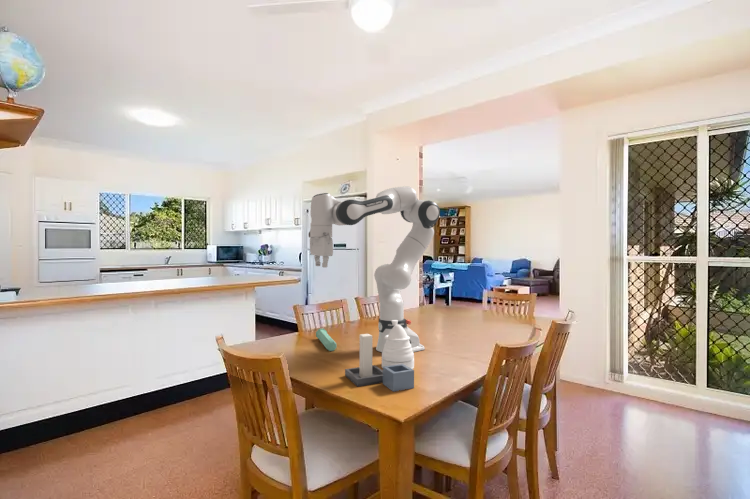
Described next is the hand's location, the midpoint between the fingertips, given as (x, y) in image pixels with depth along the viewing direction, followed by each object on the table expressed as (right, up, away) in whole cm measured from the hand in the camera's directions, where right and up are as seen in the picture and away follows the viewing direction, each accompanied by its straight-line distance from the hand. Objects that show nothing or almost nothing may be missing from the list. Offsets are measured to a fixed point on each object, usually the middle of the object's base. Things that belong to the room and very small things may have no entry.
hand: (321, 266), depth 162 cm
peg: (+19, -39, -19) cm, 47 cm away
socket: (+30, -40, -26) cm, 56 cm away
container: (-1, -39, +28) cm, 48 cm away
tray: (+19, -40, -19) cm, 48 cm away
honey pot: (+31, -40, -5) cm, 51 cm away
